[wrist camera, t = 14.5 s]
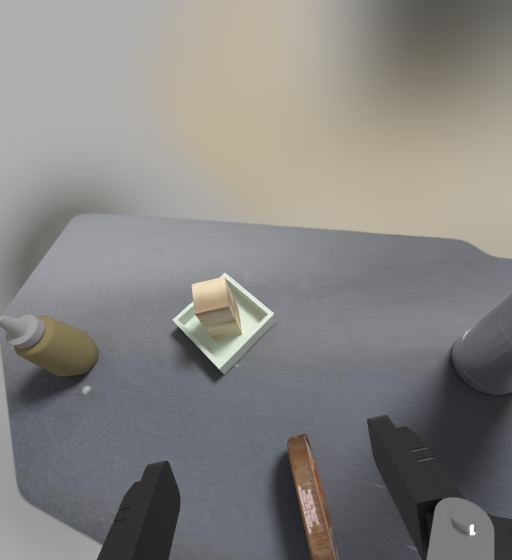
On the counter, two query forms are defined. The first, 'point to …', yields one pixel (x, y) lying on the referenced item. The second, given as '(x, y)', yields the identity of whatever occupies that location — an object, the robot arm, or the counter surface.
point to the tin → (311, 500)
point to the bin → (232, 348)
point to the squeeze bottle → (51, 344)
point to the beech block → (216, 308)
